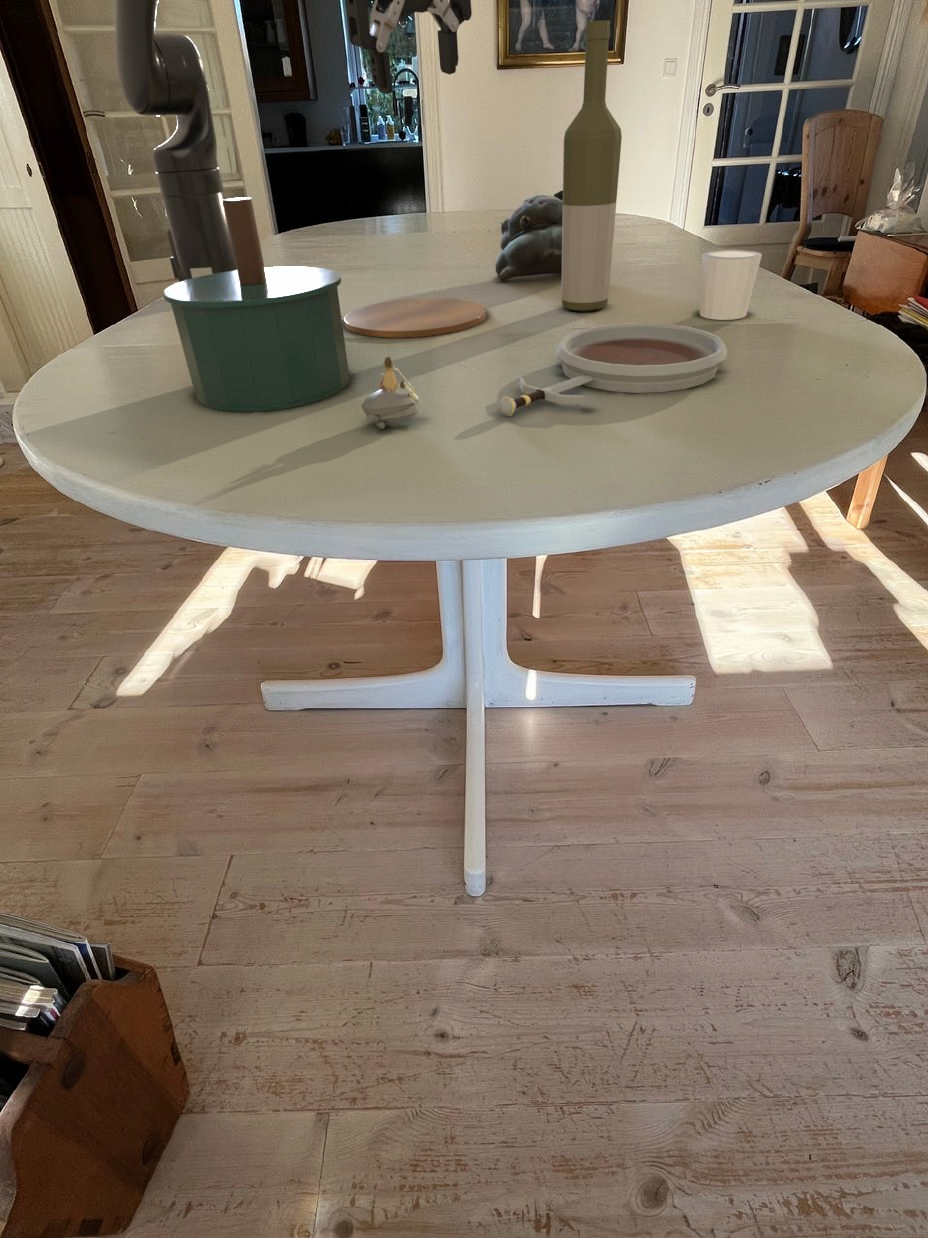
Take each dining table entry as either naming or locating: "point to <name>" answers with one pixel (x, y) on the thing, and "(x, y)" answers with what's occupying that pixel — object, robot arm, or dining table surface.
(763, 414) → the dining table surface
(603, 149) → the bottle
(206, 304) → the lid
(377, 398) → the figurine
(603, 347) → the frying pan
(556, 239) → the grey lumpy animal shape
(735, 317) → the white cup
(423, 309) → the trivet
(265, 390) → the pot
